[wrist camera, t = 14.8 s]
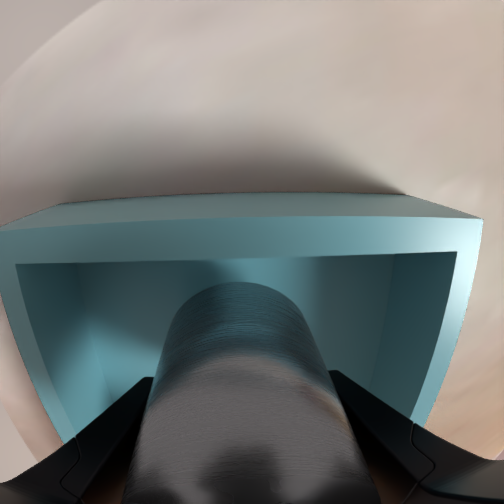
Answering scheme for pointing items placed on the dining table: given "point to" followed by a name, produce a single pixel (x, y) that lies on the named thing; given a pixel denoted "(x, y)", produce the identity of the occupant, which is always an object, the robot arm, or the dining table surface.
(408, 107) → the dining table surface
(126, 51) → the dining table surface
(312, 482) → the steel cylinder
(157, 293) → the tote
